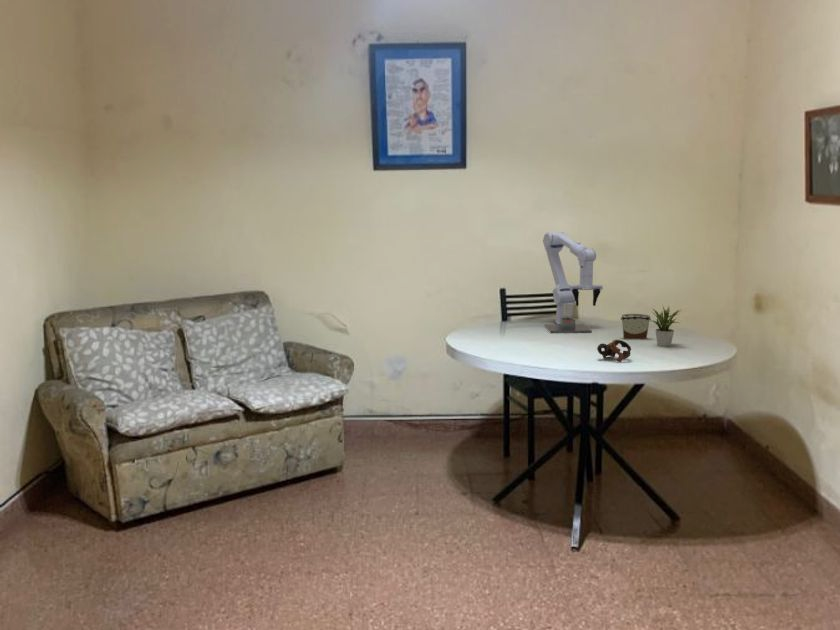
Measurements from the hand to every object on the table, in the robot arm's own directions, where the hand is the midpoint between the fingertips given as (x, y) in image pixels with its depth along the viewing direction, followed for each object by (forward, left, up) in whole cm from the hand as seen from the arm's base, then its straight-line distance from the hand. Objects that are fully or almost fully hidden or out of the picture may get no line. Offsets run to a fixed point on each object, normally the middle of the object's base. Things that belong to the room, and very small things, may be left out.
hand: (585, 305), depth 339 cm
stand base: (+4, -9, -10) cm, 14 cm away
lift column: (+4, -9, -7) cm, 12 cm away
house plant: (+44, +23, -10) cm, 51 cm away
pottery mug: (+68, -4, -11) cm, 69 cm away
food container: (+26, +15, -10) cm, 32 cm away
